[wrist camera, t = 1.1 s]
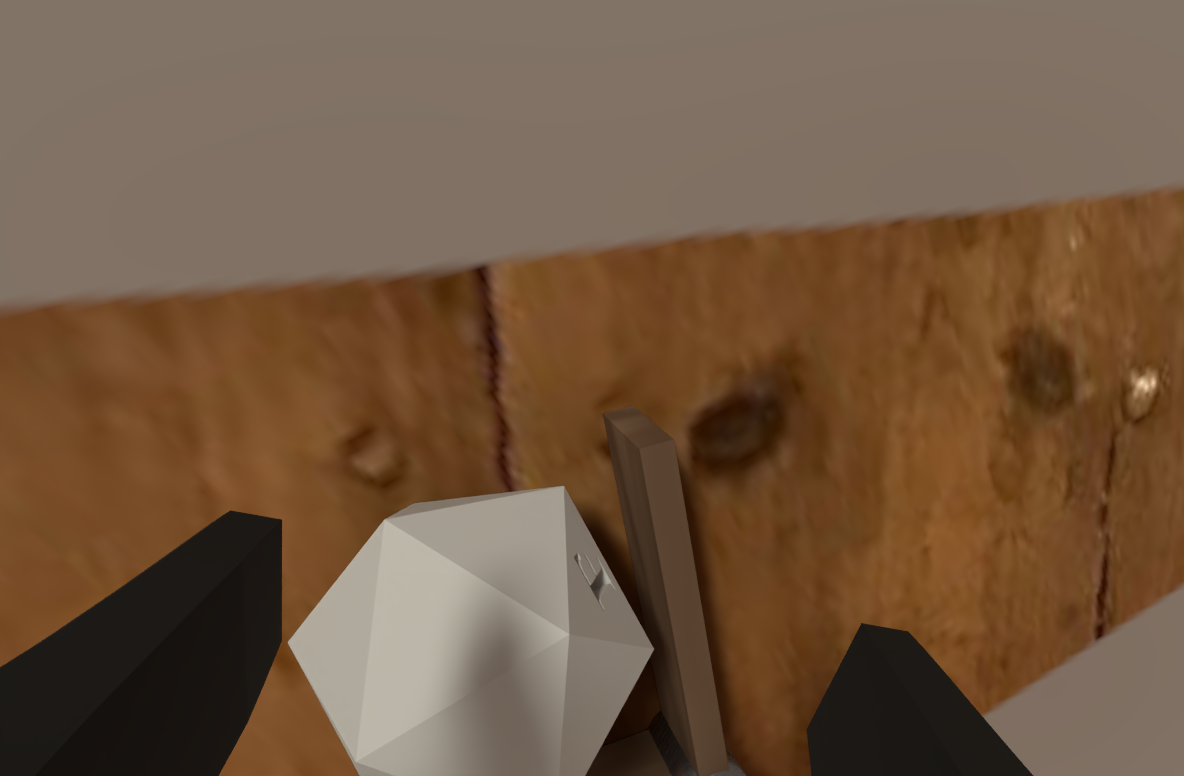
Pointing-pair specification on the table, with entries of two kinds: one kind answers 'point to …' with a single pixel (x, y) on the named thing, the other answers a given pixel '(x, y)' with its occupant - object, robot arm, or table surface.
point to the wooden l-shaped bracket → (664, 613)
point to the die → (475, 641)
